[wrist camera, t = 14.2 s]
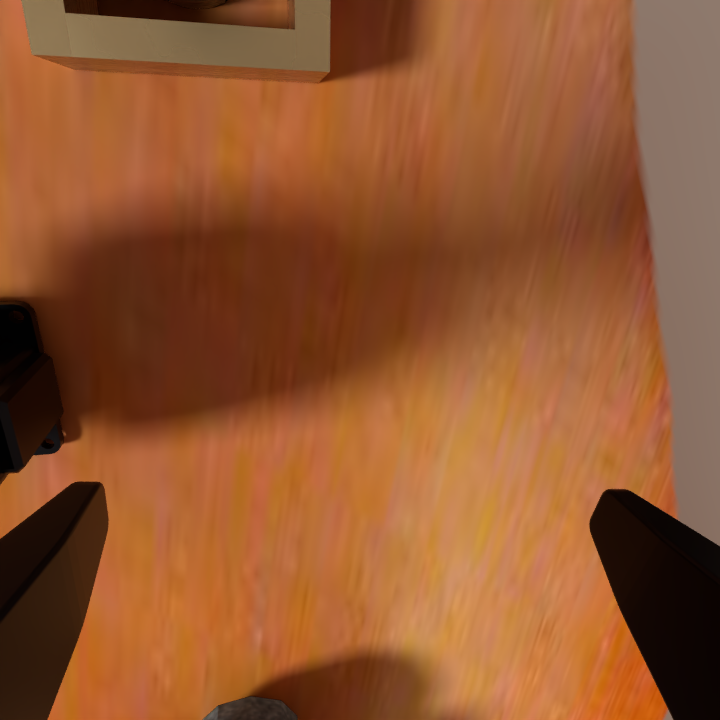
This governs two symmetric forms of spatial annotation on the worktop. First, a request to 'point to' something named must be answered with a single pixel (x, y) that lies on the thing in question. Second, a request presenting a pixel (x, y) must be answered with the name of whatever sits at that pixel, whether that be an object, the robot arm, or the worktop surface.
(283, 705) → the mortar and pestle
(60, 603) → the robot arm
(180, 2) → the hinge pin
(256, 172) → the worktop surface
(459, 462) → the worktop surface
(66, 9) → the bracket
